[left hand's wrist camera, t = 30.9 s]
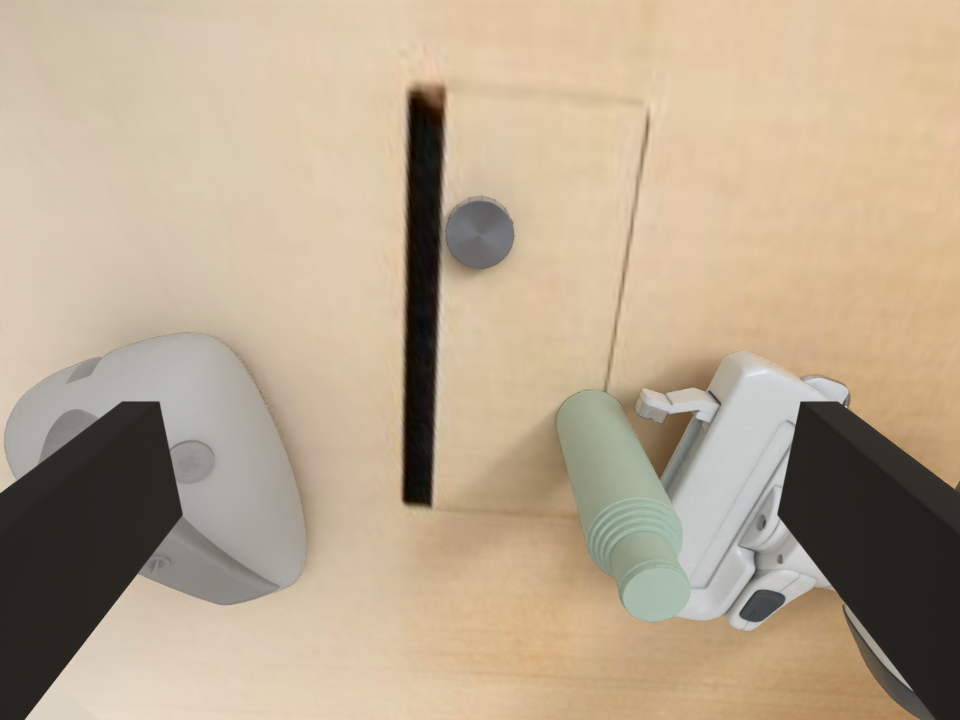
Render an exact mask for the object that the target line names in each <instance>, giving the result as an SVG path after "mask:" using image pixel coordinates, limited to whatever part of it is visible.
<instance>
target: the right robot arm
mask: <svg viewBox="0 0 960 720" xmlns="http://www.w3.org/2000/svg"><path fill="white" fill-rule="evenodd" d="M850 399H851V397H850V392H849V390H848V388H847V387H846V386H845V385H844V384H843V383H842V382H840V381H838V380H835V379H832V378H829V377H826V376H823V375H818V374H810V375H805V376H803V377H799V376H797V375H796V374H794V373H792V372H791V371H789V370H787V369H785V368H784V367H782V366H780V365H778V364H776V363H774V362H772V361H770V360H768V359H766V358H763V357H761V356H759V355H756V354H754V353H751V352H749V351H745V350H741V351H738V352H734V353H731V354H728V355H726V356H725V357H724V358H723V360H722V362H721V363H720V365H719V367H718V369H717V371H716V373H715V375H714V377H713V379H712V381H711V383H710V385H709V386H708V388H707V390H706V391H703V390H700V389H697V388H694V387H692V388H687V389H682V390H678V391H673V392H668V393H665V395H664V394H661V393H658V392H655V391H652V390H649V389H646V388H643V389H642V390H641V392H640V394H639V396H638V398H637V400H636V402H635V404H634V409H636V413H637V414H638V415H639V416H641V417H643V418H645V419H650V418H652V420H653V421H655V422H658V423H661V424H663V422H664V420H665V418H666V416H667V414H673V413H681V412H688V411H691V412H692V414H693V417H692V419H691V421H690V423H689V425H688V426H687V428H686V430H685V432H684V434H683V436H682V438H681V440H680V442H679V444H678V445H677V447H676V449H675V451H674V453H673V455H672V457H671V459H670V461H669V463H668V465H667V466H666V468H665V470H664V472H663V474H662V476H661V478H660V482H661V484H662V486H663V488H664V490H665V492H666V494H667V496H668V498H669V499H670V501H671V503H672V505H673V507H674V509H675V511H676V513H677V515H678V517H679V519H680V521H681V524H682V529H683V545H682V548H681V551H680V553H679V556H678V558H677V559H678V562H679V564H680V566H681V567H682V569H684V571H685V573H686V575H687V577H688V579H689V581H690V585H691V593H690V598H689V601H688V603H687V605H686V606H685V607H684V609H683V610H682V611H681V612H680V613H678V614H677V615H675V616H674V617H678V618H684V619H689V620H697V621H706V620H712V619H715V618H718V617H719V616H721V615H724V617H725V619H726V620H727V622H728V623H729V624H730V626H732V627H733V628H735V629H738V630H742V631H751V630H754V629H755V628H757V627H758V626H760V625H761V624H762V623H763V622H765V621H766V620H767V619H768V618H769V617H771V616H772V615H773V614H774V613H775V612H777V611H778V610H779V609H781V608H782V607H783V606H785V605H786V604H788V603H789V602H791V601H792V600H794V599H795V598H797V597H799V596H800V595H802V594H804V593H806V592H808V591H809V590H811V589H812V588H813V587H816V588H825V589H830V590H833V591H834V592H836V591H835V589H834V588H833V587H832V585H831V584H830V583H829V582H828V580H827V579H826V578H825V576H824V575H823V574H822V572H821V571H820V570H819V569H818V567H817V566H816V565H815V563H814V562H813V561H812V560H811V558H810V557H809V556H808V554H807V553H806V552H805V550H804V549H803V548H802V547H801V545H800V544H799V543H798V541H797V540H796V539H795V538H794V536H793V535H792V534H791V532H790V531H789V530H788V528H787V527H786V526H785V525H784V523H783V522H782V521H781V519H780V518H779V517H778V516H777V512H778V507H779V503H780V498H781V493H782V488H783V483H784V478H785V474H786V469H787V464H788V459H789V454H790V449H791V445H792V440H793V435H794V430H795V425H796V421H797V416H798V411H799V406H800V401H838V402H840V403H841V404H842V403H843V404H842V405H843V406H845V407H846V408H847V409H849V410H850V411H851V412H852V410H851V409H850V408H848V407H849V405H850ZM955 490H956V491H957V492H959V493H960V481H959V483H958V485H957V486H956V488H955ZM836 593H837V592H836ZM837 594H838V593H837ZM838 595H839V594H838ZM844 603H845V602H844ZM843 611H844V615H845V618H846V620H847V623H848V626H849V628H850V630H851V632H852V635H853V637H854V639H855V641H856V643H857V646H858V648H859V650H860V653H861V655H862V657H863V659H864V661H865V663H866V665H867V667H868V668H869V670H870V672H871V673H872V675H873V676H874V677H875V679H876V680H877V681H878V683H879V684H880V685H881V686H882V688H883V689H884V690H885V691H886V692H887V693H888V695H889V696H890V697H891V698H892V699H893V700H894V701H895V702H897V703H898V704H899V705H900V706H901V707H903V708H904V709H905V710H907V711H908V712H910V713H911V714H912V715H914V716H916V717H917V718H919V719H920V720H935V719H934V717H933V716H932V715H931V713H930V712H929V711H928V710H927V708H926V707H925V706H924V704H923V703H922V702H921V701H920V699H919V698H918V697H917V695H916V694H915V693H914V691H913V690H912V689H911V688H910V686H909V685H908V684H907V682H906V681H905V680H904V679H903V677H902V676H901V675H900V673H899V672H898V671H897V669H896V668H895V667H894V666H893V664H892V663H891V662H890V660H889V659H888V658H887V657H886V655H885V654H884V653H883V651H882V650H881V649H880V647H879V646H878V645H877V644H876V642H875V641H874V640H873V638H872V637H871V636H870V635H869V633H868V632H867V631H866V629H865V628H864V627H863V625H862V624H861V623H860V622H859V620H858V619H857V618H856V616H855V615H854V614H853V613H852V611H851V610H850V609H849V607H848V606H847V605H846V604H844V605H843Z"/></svg>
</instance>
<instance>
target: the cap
mask: <svg viewBox="0 0 960 720" xmlns="http://www.w3.org/2000/svg"><path fill="white" fill-rule="evenodd" d="M512 224H513V222H512V219H510V216H509V214H508V212H507V211H506V208H505V207H503V206H502V205H501V204H500V203H499V202H497V201H496V200H495V199H494V200H493V199H491V198H488V197H483V196H482V197H481V196H479V197H472V198H470V197H469V198H468V199H466V200H464V201H463V202H461V203H460V204H458V205H457V207H456V208H455V209H454V210H453V212H452V214H451V215H450V216H449V221H448V224H447V228H446V231H445V232H446V240H447V245H448V247H449V250H450V252H451V253H452V255H453V256H454V257H455V258H456V259H457V260H458V261H459V262H461V263H462V264H464V265H466V266H468V267H471V268H477V269H483V268H489V267H492V266H494V265H496V264H498V263H499V262H501V261H502V260H503V259H504V258H505V257H506V256H507V254H508V253H509V251H510V250H511V247H512V244H513V240H514V229H513V225H512Z"/></svg>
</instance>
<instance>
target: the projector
mask: <svg viewBox="0 0 960 720" xmlns="http://www.w3.org/2000/svg"><path fill="white" fill-rule="evenodd" d="M122 401H160V406H161V411H162V416H163V421H164V425H165V430H166V435H167V440H168V445H169V449H170V454H171V459H172V464H173V469H174V474H175V478H176V483H177V488H178V493H179V498H180V503H181V507H182V512H183V516H182V517H181V518H180V519H179V521H178V522H177V523H176V525H175V526H174V527H173V528H172V530H171V531H170V532H169V534H168V535H167V536H166V538H165V539H164V540H163V541H162V543H161V544H160V545H159V547H158V548H157V549H156V550H155V552H154V553H153V554H152V556H151V557H150V558H149V560H148V561H147V562H146V563H145V565H144V566H143V567H142V569H141V570H140V571H139V572H138V574H140V575H142V576H144V577H147V578H149V579H151V580H154V581H156V582H158V583H161V584H163V585H165V586H168V587H170V588H173V589H175V590H178V591H181V592H183V593H186V594H188V595H191V596H194V597H197V598H200V599H203V600H206V601H209V602H212V603H215V604H219V605H232V604H237V603H242V602H246V601H250V600H253V599H256V598H259V597H262V596H265V595H268V594H271V593H274V592H277V591H280V590H282V589H285V588H287V587H289V586H291V585H292V584H293V583H295V582H296V581H297V580H298V579H299V577H300V575H301V573H302V571H303V569H304V566H305V562H306V557H307V537H306V527H305V520H304V514H303V509H302V504H301V499H300V494H299V490H298V486H297V483H296V479H295V476H294V472H293V469H292V466H291V463H290V460H289V458H288V455H287V452H286V449H285V447H284V444H283V442H282V439H281V437H280V435H279V432H278V430H277V427H276V425H275V423H274V421H273V418H272V416H271V414H270V412H269V410H268V408H267V406H266V404H265V402H264V400H263V398H262V396H261V394H260V392H259V390H258V388H257V386H256V384H255V383H254V381H253V379H252V377H251V376H250V374H249V372H248V371H247V369H246V368H245V366H244V365H243V363H242V362H241V360H240V359H239V358H238V357H237V355H236V354H235V353H234V352H233V351H232V350H231V349H230V348H229V347H228V346H227V345H226V344H225V343H223V342H222V341H220V340H218V339H217V338H214V337H212V336H209V335H205V334H201V333H191V332H185V333H176V334H170V335H165V336H160V337H155V338H151V339H148V340H144V341H140V342H137V343H134V344H131V345H128V346H125V347H122V348H119V349H116V350H114V351H112V352H110V353H108V354H107V355H106V356H104V357H103V358H92V359H88V360H86V361H83V362H80V363H78V364H75V365H73V366H70V367H68V368H66V369H63V370H61V371H59V372H57V373H55V374H53V375H51V376H49V377H47V378H45V379H44V380H42V381H41V382H39V383H38V384H36V385H35V386H34V387H32V388H31V389H30V390H29V391H27V392H26V393H25V394H24V395H23V396H22V397H21V399H20V400H19V401H18V402H17V404H16V405H15V407H14V409H13V410H12V412H11V414H10V416H9V419H8V421H7V424H6V428H5V433H4V448H5V453H6V458H7V461H8V464H9V466H10V469H11V471H12V473H13V475H14V477H15V478H16V480H19V479H20V478H21V477H23V476H24V475H25V474H27V473H28V472H29V471H30V470H32V469H33V468H34V467H36V466H37V465H38V464H40V463H41V462H42V461H44V460H45V459H46V458H48V457H49V456H50V455H52V454H53V453H54V452H56V451H57V450H58V449H60V448H61V447H62V446H64V445H65V444H66V443H68V442H69V441H70V440H72V439H73V438H74V437H75V436H77V435H78V434H79V433H81V432H82V431H83V430H85V429H86V428H87V427H89V426H90V425H91V424H93V423H94V422H95V421H97V420H98V419H99V418H101V417H102V416H103V415H105V414H106V413H107V412H109V411H110V410H111V409H113V408H114V407H115V406H117V405H118V404H119V403H120V402H122Z"/></svg>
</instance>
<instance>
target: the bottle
mask: <svg viewBox="0 0 960 720" xmlns="http://www.w3.org/2000/svg"><path fill="white" fill-rule="evenodd" d="M556 428H557V432H558V436H559V440H560V444H561V448H562V452H563V455H564V459H565V463H566V467H567V471H568V475H569V479H570V483H571V487H572V490H573V494H574V498H575V502H576V506H577V510H578V514H579V518H580V521H581V525H582V529H583V533H584V537H585V541H586V545H587V548H588V552H589V554H590V556H591V558H592V559H593V561H594V562H595V563H596V565H597V566H598V567H599V568H600V569H601V570H602V571H604V572H605V573H607V574H608V575H610V576H612V577H614V578H616V581H617V585H618V588H619V590H618V592H619V597H620V601H621V603H622V604H623V606H624V607H625V608H626V610H627V611H628V612H629V613H630V614H631V615H632V616H634V617H635V618H637V619H640V620H643V621H648V622H658V621H663V620H667V619H670V618H672V617H674V616H675V615H677V614H678V613H680V612H681V611H682V610H683V609H684V607H685V606H686V605H687V603H688V601H689V598H690V593H691V585H690V581H689V579H688V577H687V575H686V573H685V571H684V569H682V567H681V566H680V564H679V562H678V559H677V558H678V556H679V553H680V551H681V548H682V545H683V529H682V524H681V521H680V519H679V517H678V515H677V513H676V511H675V509H674V507H673V505H672V503H671V501H670V499H669V498H668V496H667V494H666V492H665V490H664V488H663V486H662V484H661V482H660V480H659V478H658V476H657V474H656V472H655V470H654V468H653V466H652V464H651V463H650V461H649V459H648V457H647V455H646V453H645V451H644V449H643V447H642V445H641V443H640V441H639V439H638V437H637V435H636V433H635V431H634V429H633V428H632V426H631V424H630V422H629V420H628V418H627V416H626V414H625V412H624V410H623V408H622V406H621V405H620V403H619V402H618V401H617V399H615V398H614V397H613V396H612V395H610V394H608V393H606V392H603V391H598V390H587V391H582V392H579V393H577V394H575V395H573V396H571V397H570V398H568V399H567V400H566V401H565V402H564V403H563V405H562V406H561V407H560V409H559V411H558V414H557V418H556Z"/></svg>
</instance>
